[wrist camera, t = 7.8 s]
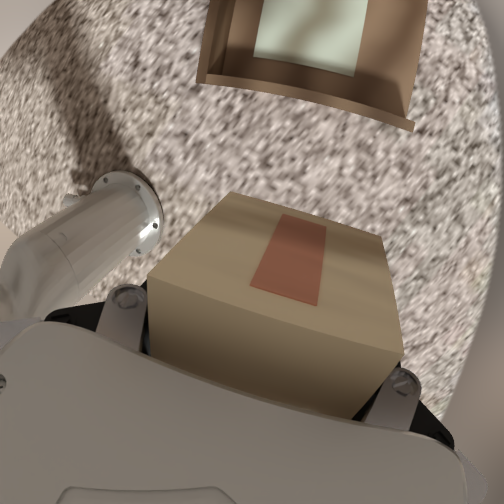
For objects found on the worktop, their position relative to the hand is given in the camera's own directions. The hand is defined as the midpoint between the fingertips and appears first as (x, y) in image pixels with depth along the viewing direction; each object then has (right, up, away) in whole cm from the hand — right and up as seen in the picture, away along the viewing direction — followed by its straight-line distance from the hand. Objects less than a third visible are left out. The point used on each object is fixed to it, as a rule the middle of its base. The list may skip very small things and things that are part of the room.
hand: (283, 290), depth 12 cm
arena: (+6, +25, +11) cm, 28 cm away
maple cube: (0, 0, +1) cm, 1 cm away
